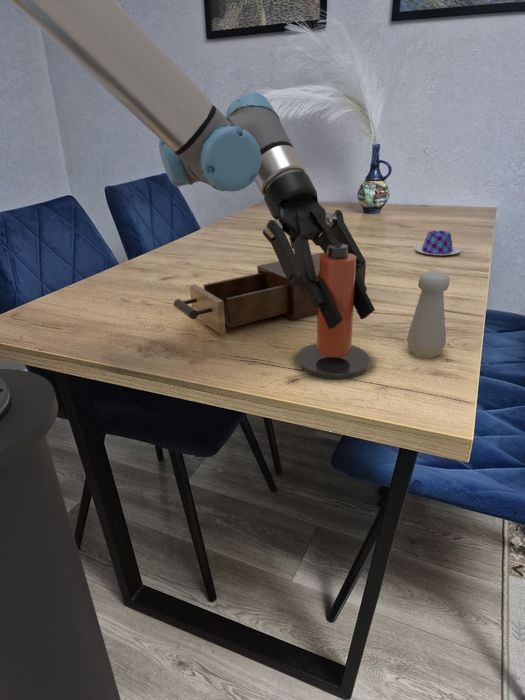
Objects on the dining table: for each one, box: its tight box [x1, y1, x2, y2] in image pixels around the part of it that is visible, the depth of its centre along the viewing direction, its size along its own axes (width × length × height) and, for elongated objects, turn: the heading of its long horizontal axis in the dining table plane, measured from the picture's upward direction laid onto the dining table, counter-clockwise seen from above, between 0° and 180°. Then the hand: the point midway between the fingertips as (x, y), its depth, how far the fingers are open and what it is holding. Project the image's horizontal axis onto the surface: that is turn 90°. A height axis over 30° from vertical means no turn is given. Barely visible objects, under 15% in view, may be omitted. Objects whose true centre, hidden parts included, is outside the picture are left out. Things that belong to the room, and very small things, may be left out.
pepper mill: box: [316, 244, 356, 358], centre depth 68 cm, size 5×5×16 cm
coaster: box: [296, 343, 371, 380], centre depth 73 cm, size 11×11×1 cm
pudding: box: [413, 230, 461, 257], centre depth 128 cm, size 12×12×5 cm
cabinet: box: [256, 251, 367, 321], centre depth 96 cm, size 18×13×8 cm
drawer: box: [173, 272, 291, 335], centre depth 87 cm, size 21×11×6 cm, turn 122°
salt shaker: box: [406, 270, 450, 360], centre depth 72 cm, size 6×6×13 cm
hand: (352, 319), depth 66 cm, fingers closed on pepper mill, 5 cm apart
